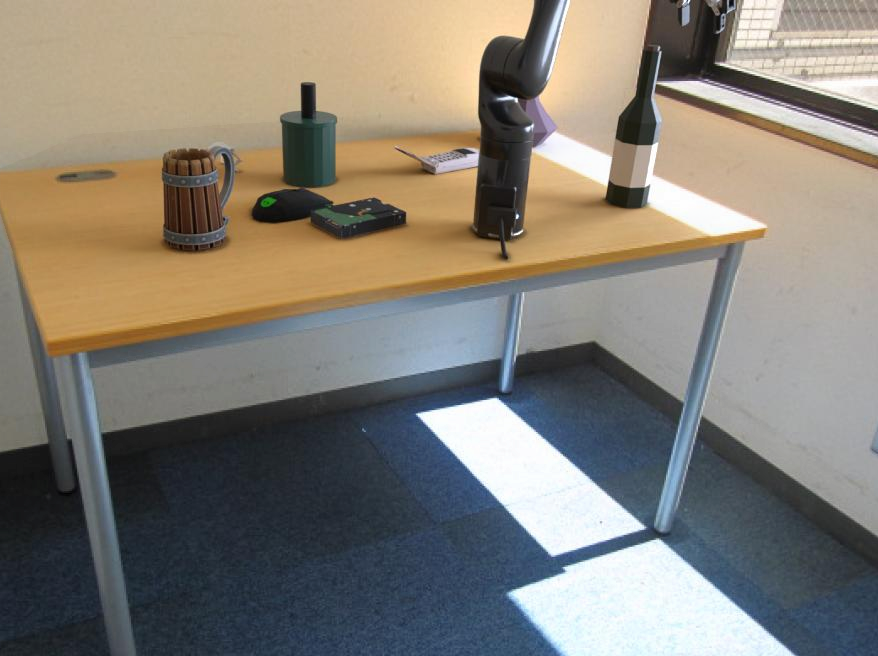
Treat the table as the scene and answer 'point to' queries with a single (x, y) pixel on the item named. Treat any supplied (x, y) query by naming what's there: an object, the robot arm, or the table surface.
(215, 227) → the mug
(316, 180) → the cylindrical cup
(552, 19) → the robot arm
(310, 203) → the computer mouse
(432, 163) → the mobile phone
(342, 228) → the disk drive
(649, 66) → the wine bottle
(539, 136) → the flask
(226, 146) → the origami figure
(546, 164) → the table surface
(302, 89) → the green pot lid
